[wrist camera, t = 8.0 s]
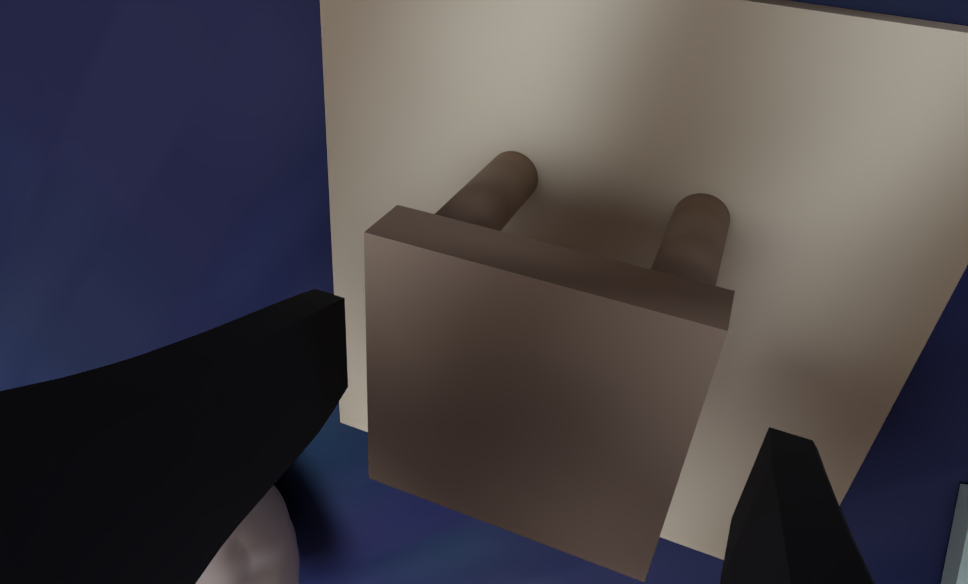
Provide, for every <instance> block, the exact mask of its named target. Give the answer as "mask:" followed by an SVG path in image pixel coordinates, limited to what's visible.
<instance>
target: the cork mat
mask: <svg viewBox="0 0 968 584" xmlns="http://www.w3.org/2000/svg"><path fill="white" fill-rule="evenodd" d="M320 14H321V34H322V55H323V76H324V96H325V117H326V138H327V158H328V179H329V200H330V220H331V241H332V262H333V282H334V295H336V296H340V297H343V298H345V320H346V346H347V372H348V388H347V389H346V391H345V393H344V394H343V396H342V397H341V399H340V401H339V406H340V422H341V423H344V424H346V425H349V426H352V427H355V428H358V429H360V430H363V431H366V432H368V414H367V363H366V312H365V261H364V232H365V231H366V230H367V229H368V228H370V227H371V226H372V225H373V224H374V223H376V222H377V221H378V220H379V219H381V218H382V217H383V216H384V215H385V214H387V213H388V212H389V211H390V210H391V209H393V208H394V207H395V206H396V205H400V206H404V207H408V208H412V209H416V210H420V211H424V212H428V213H432V214H435V213H436V212H437V211H438V210H439V209H440V208H441V207H442V206H444V205H445V204H446V203H447V202H448V201H449V200H450V199H451V198H452V197H453V196H454V195H455V194H456V193H457V192H459V191H460V190H461V189H462V188H463V187H464V186H465V185H466V184H467V183H468V182H469V181H470V180H471V179H472V178H474V177H475V176H476V175H477V174H478V173H479V172H480V171H481V170H482V169H483V168H484V167H485V166H486V165H487V164H489V163H490V162H491V161H492V160H493V159H494V158H495V157H496V156H497V155H499V154H500V153H503V152H506V151H516V152H519V153H522V154H524V155H525V156H527V157H528V158H529V159H530V160H531V161H532V162H533V164H534V165H535V168H536V170H537V174H538V183H537V187H536V189H535V191H534V192H533V193H532V194H531V196H530V197H529V198H528V199H527V200H526V202H525V203H524V204H523V205H522V206H521V207H520V209H519V210H518V211H517V212H516V213H515V215H514V216H513V217H512V218H511V219H510V221H509V222H508V223H507V224H506V225H505V226H504V228H503V229H502V230H501V231H502V232H506V233H510V234H514V235H518V236H522V237H526V238H530V239H533V240H537V241H541V242H545V243H549V244H553V245H557V246H561V247H565V248H569V249H573V250H576V251H580V252H584V253H588V254H592V255H596V256H600V257H604V258H608V259H612V260H616V261H620V262H623V263H627V264H631V265H635V266H639V267H643V268H647V269H651V267H652V265H653V262H654V260H655V257H656V255H657V252H658V250H659V247H660V244H661V242H662V239H663V237H664V234H665V232H666V229H667V227H668V224H669V221H670V219H671V216H672V214H673V211H674V209H675V207H676V205H677V204H678V203H679V202H680V201H681V200H682V199H683V198H685V197H687V196H689V195H692V194H696V193H705V194H710V195H713V196H715V197H717V198H718V199H720V200H721V201H722V202H723V203H724V204H725V205H726V207H727V209H728V211H729V214H730V224H729V229H728V233H727V238H726V242H725V247H724V251H723V256H722V260H721V265H720V270H719V274H718V279H717V283H716V286H717V287H721V288H725V289H729V290H733V291H735V293H734V298H733V304H732V310H731V316H730V321H729V327H728V332H727V335H726V338H725V341H724V344H723V347H722V350H721V353H720V356H719V359H718V362H717V365H716V368H715V371H714V374H713V377H712V380H711V383H710V386H709V389H708V392H707V395H706V398H705V401H704V404H703V407H702V410H701V413H700V416H699V419H698V422H697V425H696V428H695V431H694V434H693V437H692V440H691V443H690V446H689V449H688V452H687V455H686V458H685V461H684V464H683V467H682V470H681V473H680V477H679V480H678V483H677V486H676V489H675V492H674V495H673V498H672V501H671V504H670V507H669V510H668V513H667V516H666V519H665V522H664V525H663V528H662V531H661V534H660V537H661V538H664V539H667V540H669V541H672V542H675V543H678V544H681V545H683V546H686V547H689V548H692V549H695V550H697V551H700V552H703V553H706V554H708V555H711V556H714V557H717V558H720V559H722V560H724V557H725V551H726V546H727V540H728V535H729V529H730V524H731V518H732V516H733V513H734V511H735V509H736V506H737V504H738V501H739V499H740V496H741V494H742V492H743V489H744V487H745V484H746V482H747V479H748V477H749V475H750V472H751V470H752V467H753V465H754V462H755V460H756V458H757V455H758V453H759V450H760V448H761V445H762V443H763V440H764V438H765V436H766V433H767V431H768V428H769V427H771V428H774V429H777V430H780V431H784V432H787V433H790V434H794V435H797V436H800V437H803V438H807V439H810V440H813V442H814V444H815V445H816V447H817V448H818V451H819V454H820V457H821V460H822V462H823V465H824V468H825V471H826V473H827V476H828V479H829V481H830V484H831V486H832V489H833V491H834V494H835V496H836V499H837V501H838V504H839V506H840V504H841V502H842V500H843V498H844V497H845V495H846V493H847V491H848V489H849V487H850V485H851V483H852V481H853V480H854V478H855V476H856V474H857V472H858V470H859V468H860V466H861V465H862V463H863V461H864V459H865V457H866V455H867V453H868V451H869V449H870V448H871V446H872V444H873V442H874V440H875V438H876V436H877V434H878V433H879V431H880V429H881V427H882V425H883V423H884V421H885V419H886V417H887V416H888V414H889V412H890V410H891V408H892V406H893V404H894V402H895V401H896V399H897V397H898V395H899V393H900V391H901V389H902V387H903V385H904V384H905V382H906V380H907V378H908V376H909V374H910V372H911V370H912V369H913V367H914V365H915V363H916V361H917V359H918V357H919V355H920V354H921V352H922V350H923V348H924V346H925V344H926V342H927V340H928V338H929V337H930V335H931V333H932V331H933V329H934V327H935V325H936V323H937V322H938V320H939V318H940V316H941V314H942V312H943V310H944V308H945V306H946V305H947V303H948V301H949V299H950V297H951V295H952V293H953V291H954V290H955V288H956V286H957V284H958V282H959V280H960V278H961V276H962V274H963V273H964V271H965V269H966V267H967V265H968V26H963V25H956V24H949V23H942V22H935V21H928V20H921V19H914V18H907V17H900V16H893V15H886V14H879V13H872V12H865V11H859V10H852V9H845V8H838V7H831V6H824V5H817V4H810V3H803V2H796V1H789V0H320Z"/></svg>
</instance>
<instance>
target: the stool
mask: <svg viewBox="0 0 968 584" xmlns="http://www.w3.org/2000/svg"><path fill="white" fill-rule="evenodd" d="M537 183H538V174H537V170H536V168H535V165H534V164H533V162H532V161H531V160H530V159H529V158H528V157H527V156H525V155H524V154H522V153H519V152H516V151H506V152H503V153H500V154H499V155H497V156H496V157H495V158H494V159H493V160H492V161H491V162H490V163H489V164H487V165H486V166H485V167H484V168H483V169H482V170H481V171H480V172H479V173H478V174H477V175H476V176H475V177H474V178H472V179H471V180H470V181H469V182H468V183H467V184H466V185H465V186H464V187H463V188H462V189H461V190H460V191H459V192H457V193H456V194H455V195H454V196H453V197H452V198H451V199H450V200H449V201H448V202H447V203H446V204H445V205H444V206H442V207H441V208H440V209H439V210H438V211H437V212H436V213H435V214H432V213H428V212H424V211H420V210H416V209H412V208H408V207H404V206H400V205H396V206H395V207H394V208H393V209H391V210H390V211H389V212H388V213H387V214H385V215H384V216H383V217H382V218H381V219H379V220H378V221H377V222H376V223H374V224H373V225H372V226H371V227H370V228H368V229H367V230H366V231H365V232H364V261H365V312H366V363H367V414H368V464H369V478H370V479H373V480H376V481H378V482H381V483H384V484H386V485H389V486H392V487H394V488H397V489H399V490H402V491H405V492H407V493H410V494H413V495H415V496H418V497H421V498H423V499H426V500H428V501H431V502H434V503H436V504H439V505H442V506H444V507H447V508H450V509H452V510H455V511H458V512H460V513H463V514H465V515H468V516H471V517H473V518H476V519H479V520H481V521H484V522H487V523H489V524H492V525H494V526H497V527H500V528H502V529H505V530H508V531H510V532H513V533H516V534H518V535H521V536H524V537H526V538H529V539H531V540H534V541H537V542H539V543H542V544H545V545H547V546H550V547H553V548H555V549H558V550H561V551H563V552H566V553H568V554H571V555H574V556H576V557H579V558H582V559H584V560H587V561H590V562H592V563H595V564H597V565H600V566H603V567H605V568H608V569H611V570H613V571H616V572H619V573H621V574H624V575H627V576H629V577H632V578H634V579H637V580H640V581H642V582H645V579H646V576H647V573H648V570H649V567H650V564H651V561H652V558H653V555H654V552H655V549H656V546H657V543H658V540H659V537H660V534H661V531H662V528H663V525H664V522H665V519H666V516H667V513H668V510H669V507H670V504H671V501H672V498H673V495H674V492H675V489H676V486H677V483H678V480H679V477H680V473H681V470H682V467H683V464H684V461H685V458H686V455H687V452H688V449H689V446H690V443H691V440H692V437H693V434H694V431H695V428H696V425H697V422H698V419H699V416H700V413H701V410H702V407H703V404H704V401H705V398H706V395H707V392H708V389H709V386H710V383H711V380H712V377H713V374H714V371H715V368H716V365H717V362H718V359H719V356H720V353H721V350H722V347H723V344H724V341H725V338H726V335H727V332H728V327H729V321H730V316H731V310H732V304H733V298H734V293H735V291H733V290H729V289H725V288H721V287H717V286H716V283H717V279H718V274H719V270H720V265H721V260H722V256H723V251H724V247H725V242H726V238H727V233H728V229H729V224H730V214H729V211H728V209H727V207H726V205H725V204H724V203H723V202H722V201H721V200H720V199H718V198H717V197H715V196H713V195H710V194H705V193H696V194H692V195H689V196H687V197H685V198H683V199H682V200H681V201H680V202H679V203H678V204H677V205H676V207H675V209H674V211H673V214H672V216H671V219H670V221H669V224H668V227H667V229H666V232H665V234H664V237H663V239H662V242H661V244H660V247H659V250H658V252H657V255H656V257H655V260H654V262H653V265H652V267H651V269H647V268H643V267H639V266H635V265H631V264H627V263H623V262H620V261H616V260H612V259H608V258H604V257H600V256H596V255H592V254H588V253H584V252H580V251H576V250H573V249H569V248H565V247H561V246H557V245H553V244H549V243H545V242H541V241H537V240H533V239H530V238H526V237H522V236H518V235H514V234H510V233H506V232H502V231H501V230H502V229H503V228H504V226H505V225H506V224H507V223H508V222H509V221H510V219H511V218H512V217H513V216H514V215H515V213H516V212H517V211H518V210H519V209H520V207H521V206H522V205H523V204H524V203H525V202H526V200H527V199H528V198H529V197H530V196H531V194H532V193H533V192H534V191H535V189H536V187H537Z"/></svg>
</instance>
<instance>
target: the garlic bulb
mask: <svg viewBox="0 0 968 584" xmlns="http://www.w3.org/2000/svg"><path fill="white" fill-rule="evenodd" d="M299 564H300V560H299V551H298V546H297V539H296V533H295V529H294V526H293V523H292V521H291V520H290V517H289V513H288V510H287V506H286V504H285V501H284V499H283V497H282V495H281V493H280V492H279V491H278V489H277V488H276V487H275V486H274V485H273V486H272V488H271V489H270V490H269V491H268V492H267V493H266V494H265V496H264V497H263V498H262V499H261V500H260V501H259V503H258V504H257V505H256V506H255V507H254V508H253V509H252V511H251V512H250V513H249V514H248V515H247V516H246V517H245V519H244V520H243V521H242V522H241V523H240V524H239V526H238V527H237V528H236V529H235V531H234V532H233V533H232V534H231V536H230V537H229V538H228V539H227V541H226V542H225V543H224V544H223V546H222V547H221V548H220V550H219V551H218V552H217V554H216V555H215V557H214V558H213V559H212V561H211V562H210V564H209V565H208V567H207V568H206V569H205V571H204V572H203V574H202V575H201V577H200V578H199V579H198V581H197V582H196V584H298V582H299Z"/></svg>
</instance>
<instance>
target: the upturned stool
mask: <svg viewBox="0 0 968 584" xmlns="http://www.w3.org/2000/svg"><path fill="white" fill-rule="evenodd" d="M941 584H968V485H967V484H960V488H959V493H958V498H957V503H956V508H955V513H954V518H953V523H952V529H951V534H950V539H949V544H948V549H947V554H946V559H945V564H944V570H943V575H942V580H941Z"/></svg>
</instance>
